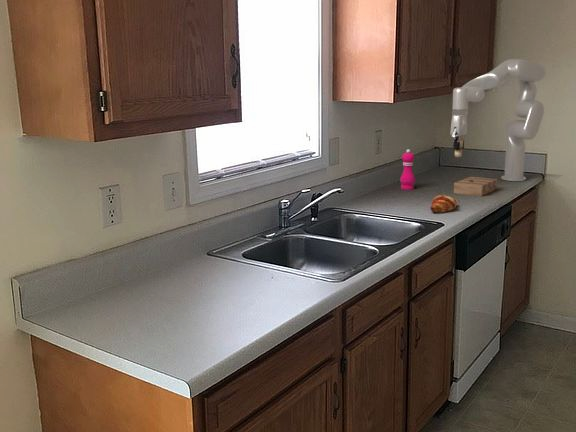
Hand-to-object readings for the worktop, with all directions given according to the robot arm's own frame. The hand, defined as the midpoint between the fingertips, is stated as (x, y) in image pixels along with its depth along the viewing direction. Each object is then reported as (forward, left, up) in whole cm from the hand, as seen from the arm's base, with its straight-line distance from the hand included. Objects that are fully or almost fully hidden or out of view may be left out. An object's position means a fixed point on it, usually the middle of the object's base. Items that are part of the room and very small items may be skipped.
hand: (458, 148), depth 327 cm
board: (+7, +13, -19) cm, 24 cm away
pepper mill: (+19, -18, -19) cm, 33 cm away
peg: (0, 0, -4) cm, 4 cm away
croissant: (+51, +16, -20) cm, 57 cm away
